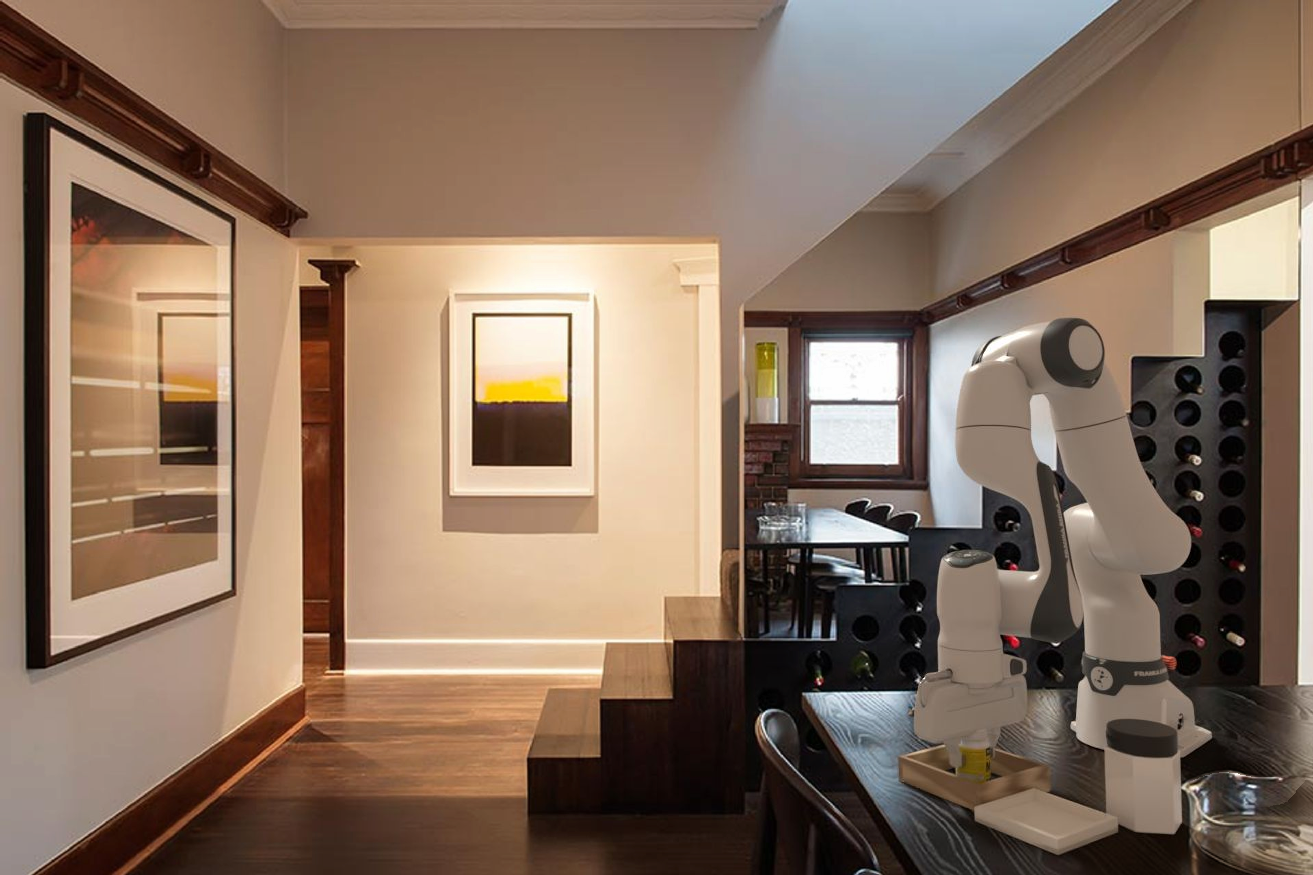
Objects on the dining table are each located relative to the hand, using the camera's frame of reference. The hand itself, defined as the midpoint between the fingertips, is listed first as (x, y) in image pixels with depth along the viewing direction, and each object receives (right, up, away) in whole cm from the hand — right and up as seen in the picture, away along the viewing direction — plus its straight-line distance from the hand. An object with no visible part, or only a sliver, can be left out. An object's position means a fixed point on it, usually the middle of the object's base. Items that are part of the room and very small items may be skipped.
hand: (972, 761), depth 129 cm
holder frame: (0, -3, 0) cm, 3 cm away
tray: (+4, -3, -15) cm, 15 cm away
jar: (+17, -3, -14) cm, 22 cm away
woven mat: (+8, -5, +34) cm, 35 cm away
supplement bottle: (0, -4, 0) cm, 4 cm away
